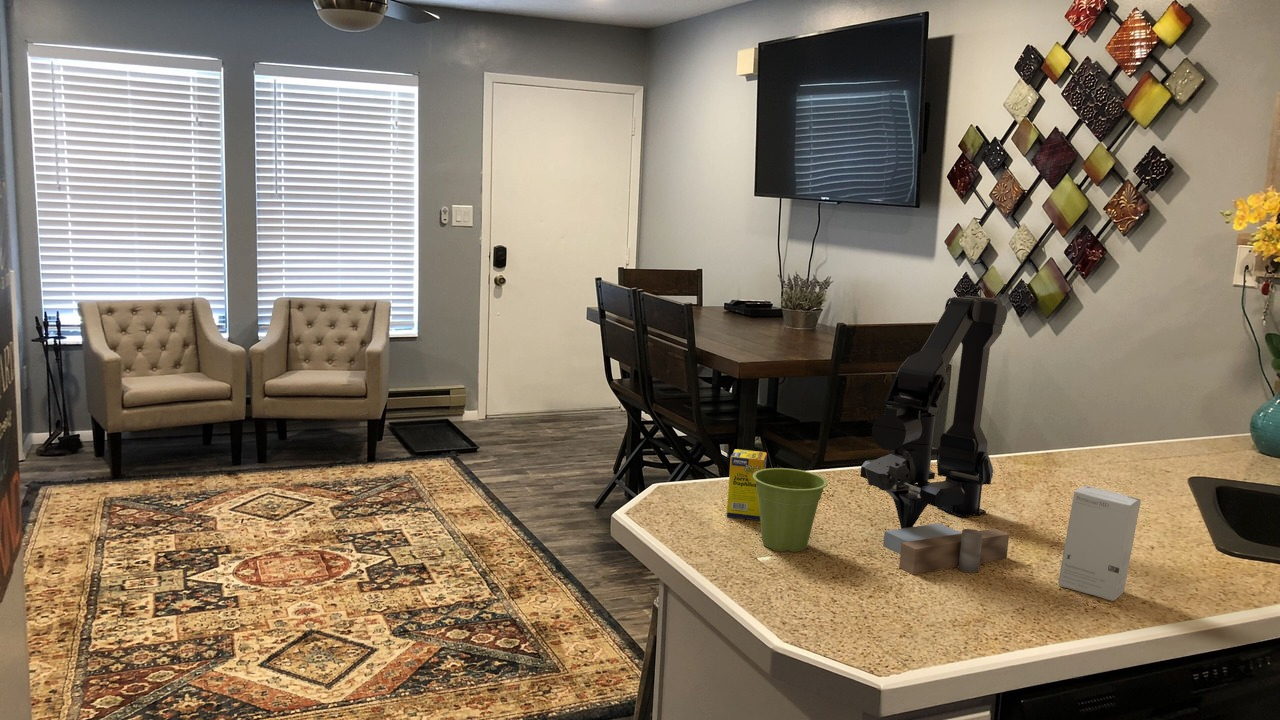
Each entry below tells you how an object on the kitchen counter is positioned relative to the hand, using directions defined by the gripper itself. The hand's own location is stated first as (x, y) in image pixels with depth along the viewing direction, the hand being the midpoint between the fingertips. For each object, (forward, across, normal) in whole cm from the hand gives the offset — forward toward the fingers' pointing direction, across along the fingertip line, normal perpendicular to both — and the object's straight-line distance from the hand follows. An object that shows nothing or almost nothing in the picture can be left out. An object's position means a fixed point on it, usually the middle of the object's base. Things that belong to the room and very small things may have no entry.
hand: (905, 531), depth 165 cm
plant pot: (+2, -5, -21) cm, 22 cm away
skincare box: (+2, +27, +12) cm, 30 cm away
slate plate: (+2, +5, 0) cm, 5 cm away
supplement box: (+2, -21, -18) cm, 28 cm away
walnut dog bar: (+1, +13, 0) cm, 13 cm away
